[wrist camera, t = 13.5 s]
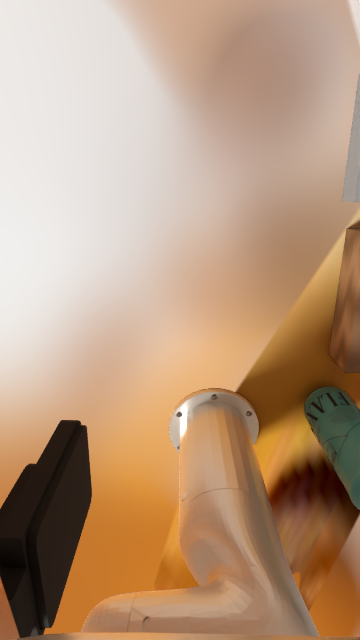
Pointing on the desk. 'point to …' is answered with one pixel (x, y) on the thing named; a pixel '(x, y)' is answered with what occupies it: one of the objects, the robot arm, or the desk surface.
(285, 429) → the desk surface
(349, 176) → the seat block
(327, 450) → the beverage bottle
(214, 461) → the robot arm
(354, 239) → the brown wooden block
